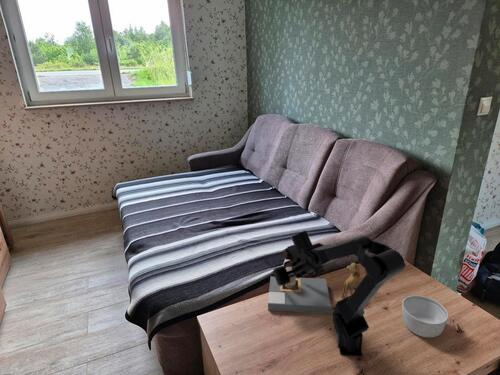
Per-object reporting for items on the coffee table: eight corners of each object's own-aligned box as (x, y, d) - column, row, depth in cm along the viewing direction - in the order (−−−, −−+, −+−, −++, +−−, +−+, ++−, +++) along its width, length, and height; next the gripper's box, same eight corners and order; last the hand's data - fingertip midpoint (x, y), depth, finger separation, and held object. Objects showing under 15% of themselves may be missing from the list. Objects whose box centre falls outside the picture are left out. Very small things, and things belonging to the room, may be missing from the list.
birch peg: (296, 289, 121) (297, 268, 117) (293, 296, 117) (294, 273, 114) (287, 287, 122) (287, 265, 119) (283, 293, 119) (283, 271, 115)
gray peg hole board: (325, 285, 123) (325, 278, 122) (330, 313, 108) (330, 306, 107) (270, 282, 125) (270, 275, 124) (268, 310, 110) (267, 302, 109)
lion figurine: (346, 278, 126) (347, 259, 123) (359, 281, 124) (361, 262, 121) (340, 300, 114) (341, 280, 111) (355, 304, 112) (357, 284, 109)
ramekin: (448, 346, 93) (453, 328, 91) (401, 335, 98) (404, 318, 95) (440, 316, 105) (443, 299, 102) (397, 307, 109) (400, 291, 107)
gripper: (317, 235, 113) (298, 249, 126) (275, 250, 105) (259, 262, 117) (331, 264, 109) (310, 275, 122) (288, 281, 101) (271, 290, 113)
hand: (288, 275), depth 119 cm, fingers open, 9 cm apart
